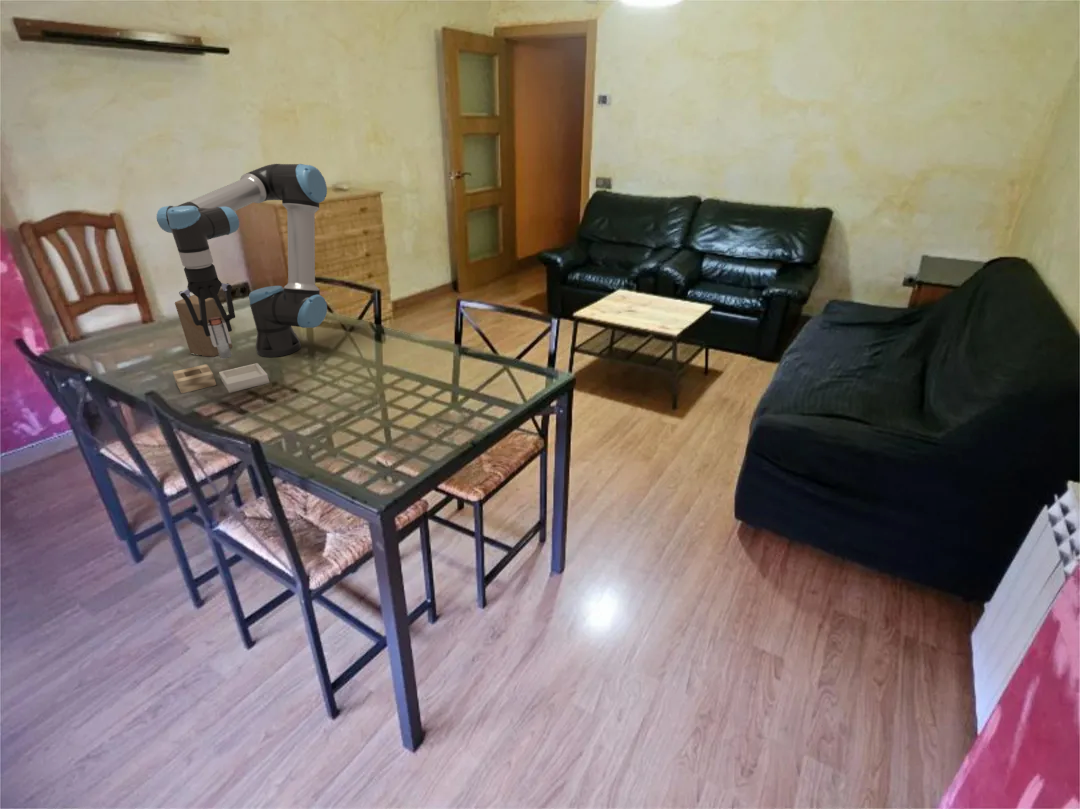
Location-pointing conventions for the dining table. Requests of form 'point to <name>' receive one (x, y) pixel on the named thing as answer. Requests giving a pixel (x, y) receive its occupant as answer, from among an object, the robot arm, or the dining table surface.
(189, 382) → the block
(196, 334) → the wooden block
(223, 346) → the pin
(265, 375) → the tray
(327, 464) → the dining table surface
